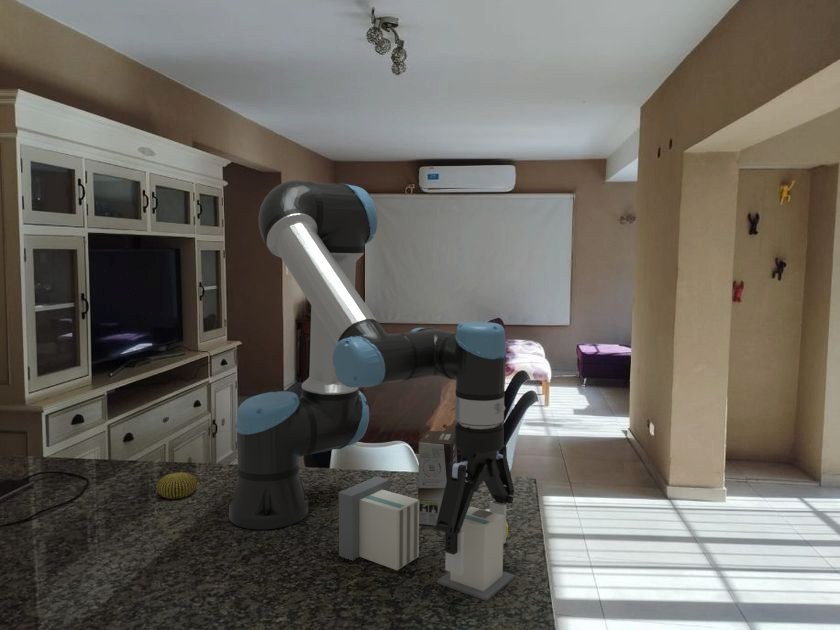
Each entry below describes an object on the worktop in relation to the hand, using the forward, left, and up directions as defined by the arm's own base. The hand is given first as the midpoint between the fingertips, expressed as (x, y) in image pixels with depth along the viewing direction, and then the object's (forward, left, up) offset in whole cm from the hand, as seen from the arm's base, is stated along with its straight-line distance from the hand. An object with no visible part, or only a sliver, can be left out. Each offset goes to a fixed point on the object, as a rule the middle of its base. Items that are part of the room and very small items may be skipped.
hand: (476, 555), depth 105 cm
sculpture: (-70, -6, -4) cm, 70 cm away
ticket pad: (-18, -2, -4) cm, 19 cm away
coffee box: (-19, +17, -4) cm, 26 cm away
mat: (0, 0, -4) cm, 4 cm away
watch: (-5, +13, -4) cm, 15 cm away
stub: (0, 0, -4) cm, 4 cm away
